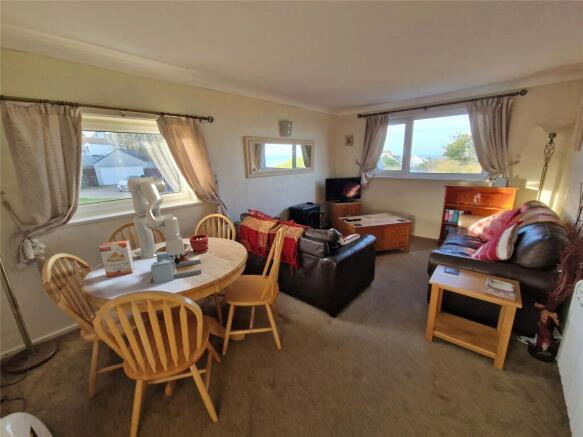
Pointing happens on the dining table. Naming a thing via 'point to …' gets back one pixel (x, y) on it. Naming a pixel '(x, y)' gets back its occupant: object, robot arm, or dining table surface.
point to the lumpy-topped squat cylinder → (171, 266)
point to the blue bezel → (162, 268)
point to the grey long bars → (185, 272)
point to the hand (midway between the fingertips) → (177, 263)
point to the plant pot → (199, 243)
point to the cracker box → (117, 258)
